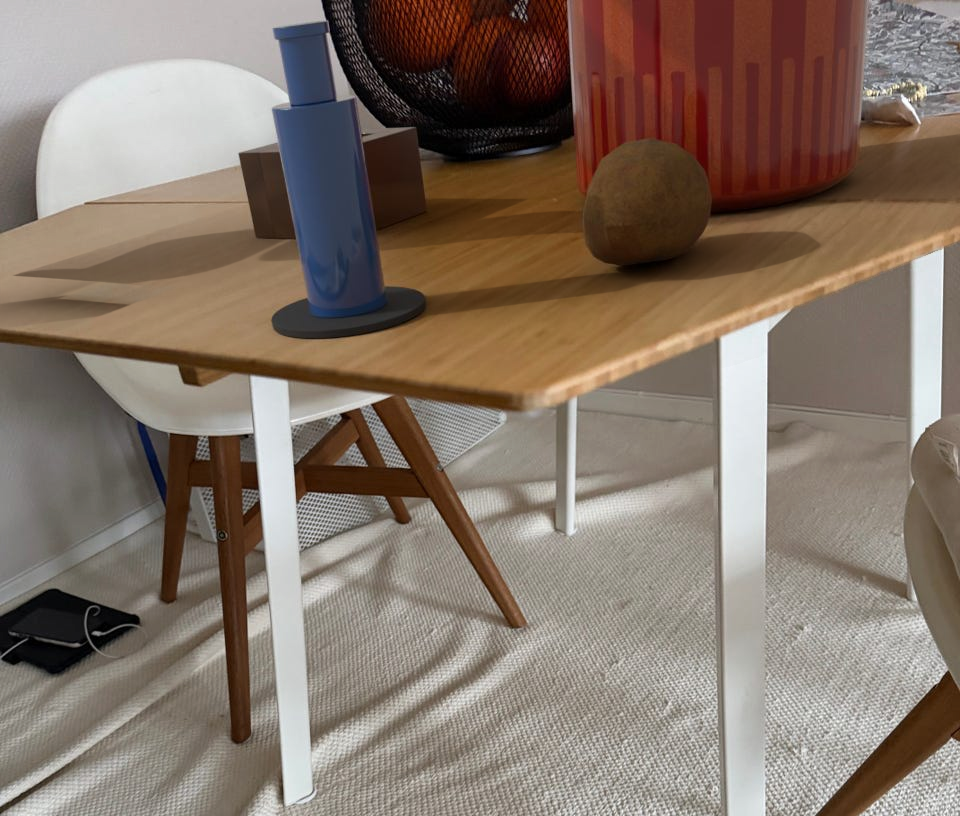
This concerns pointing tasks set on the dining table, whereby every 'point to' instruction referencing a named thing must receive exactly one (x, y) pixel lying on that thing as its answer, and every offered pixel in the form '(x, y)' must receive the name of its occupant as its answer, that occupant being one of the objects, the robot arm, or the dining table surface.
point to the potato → (645, 203)
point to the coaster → (305, 325)
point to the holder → (388, 176)
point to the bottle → (326, 179)
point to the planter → (723, 89)
